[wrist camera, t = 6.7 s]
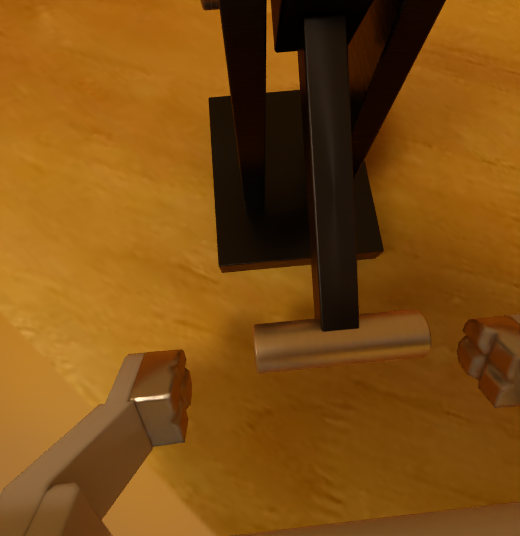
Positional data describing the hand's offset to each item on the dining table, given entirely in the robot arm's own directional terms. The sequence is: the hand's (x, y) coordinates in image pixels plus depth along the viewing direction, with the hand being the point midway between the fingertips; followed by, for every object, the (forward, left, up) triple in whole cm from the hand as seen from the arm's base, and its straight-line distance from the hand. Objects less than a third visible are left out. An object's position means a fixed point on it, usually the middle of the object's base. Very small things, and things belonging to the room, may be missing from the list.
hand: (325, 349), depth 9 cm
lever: (+2, +5, +1) cm, 6 cm away
